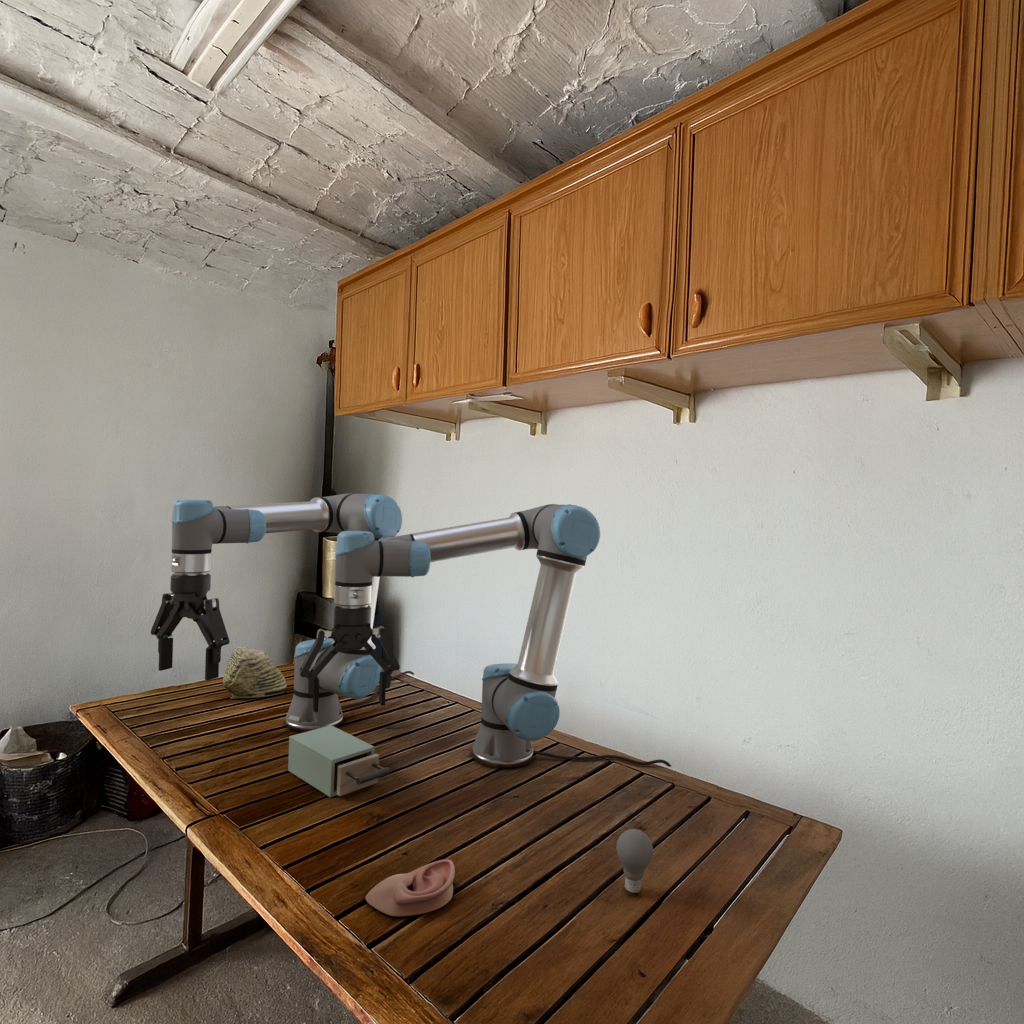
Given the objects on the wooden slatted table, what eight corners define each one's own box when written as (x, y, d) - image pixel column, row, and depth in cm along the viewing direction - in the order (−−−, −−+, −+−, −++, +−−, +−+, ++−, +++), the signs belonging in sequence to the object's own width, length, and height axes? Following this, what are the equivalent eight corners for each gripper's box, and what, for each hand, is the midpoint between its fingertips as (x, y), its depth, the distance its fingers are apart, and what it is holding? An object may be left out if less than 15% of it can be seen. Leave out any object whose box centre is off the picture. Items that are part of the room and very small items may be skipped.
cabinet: (373, 781, 142) (374, 746, 142) (330, 797, 134) (331, 760, 134) (329, 757, 154) (331, 725, 154) (287, 770, 146) (289, 736, 145)
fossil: (218, 695, 195) (220, 647, 195) (278, 685, 208) (279, 640, 207) (228, 703, 189) (230, 653, 188) (289, 692, 201) (290, 645, 201)
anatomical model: (357, 884, 98) (387, 845, 109) (356, 910, 98) (386, 868, 109) (440, 899, 95) (461, 857, 106) (439, 925, 95) (460, 881, 106)
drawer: (393, 790, 136) (394, 762, 136) (354, 805, 129) (355, 776, 129) (336, 759, 151) (337, 733, 151) (298, 771, 143) (299, 744, 143)
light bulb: (610, 879, 108) (613, 822, 108) (644, 879, 109) (647, 822, 109) (619, 902, 102) (622, 840, 102) (655, 901, 103) (658, 840, 103)
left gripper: (133, 569, 134) (130, 669, 134) (220, 580, 124) (216, 687, 125) (165, 566, 141) (162, 661, 141) (249, 576, 131) (246, 678, 131)
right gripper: (291, 610, 123) (287, 718, 124) (416, 606, 133) (412, 706, 134) (287, 604, 130) (284, 706, 130) (407, 600, 140) (403, 695, 141)
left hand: (188, 674), depth 133 cm, fingers open, 13 cm apart
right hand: (349, 706), depth 132 cm, fingers open, 13 cm apart
